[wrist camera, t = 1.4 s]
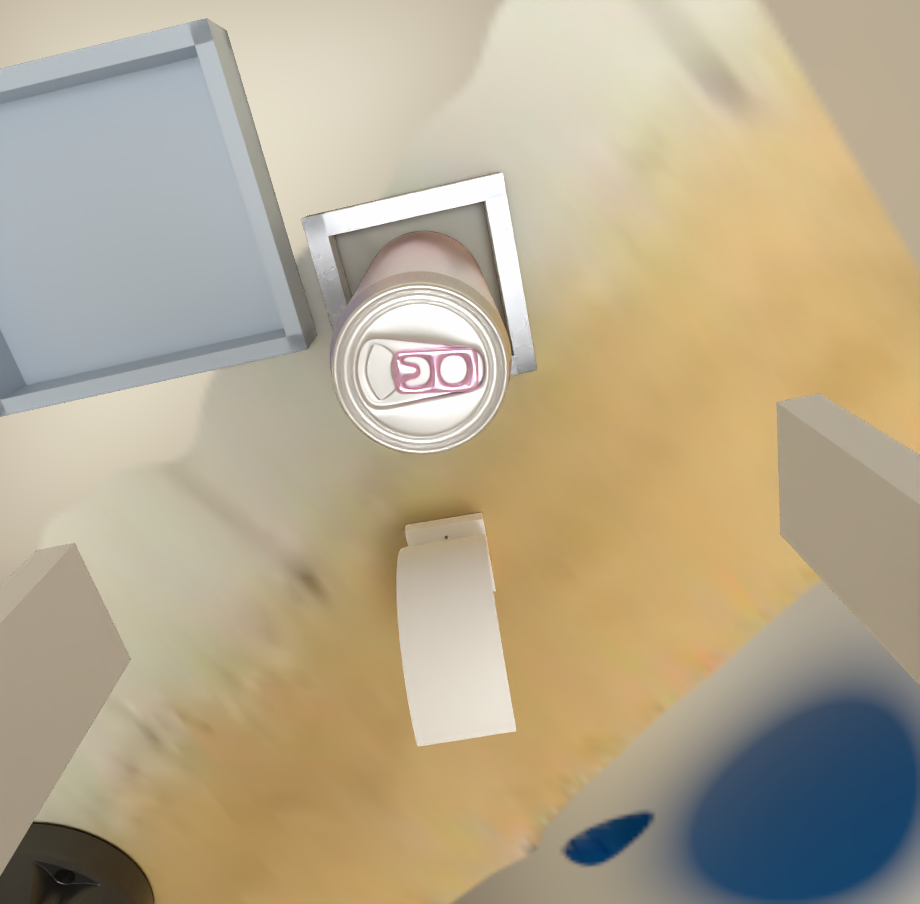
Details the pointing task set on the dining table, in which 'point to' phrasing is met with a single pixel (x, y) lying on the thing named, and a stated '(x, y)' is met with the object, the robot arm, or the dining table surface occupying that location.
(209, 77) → the tray
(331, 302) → the socket collar
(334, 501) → the dining table surface
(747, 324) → the dining table surface
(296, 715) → the dining table surface
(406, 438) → the beverage can
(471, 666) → the white curved strip
